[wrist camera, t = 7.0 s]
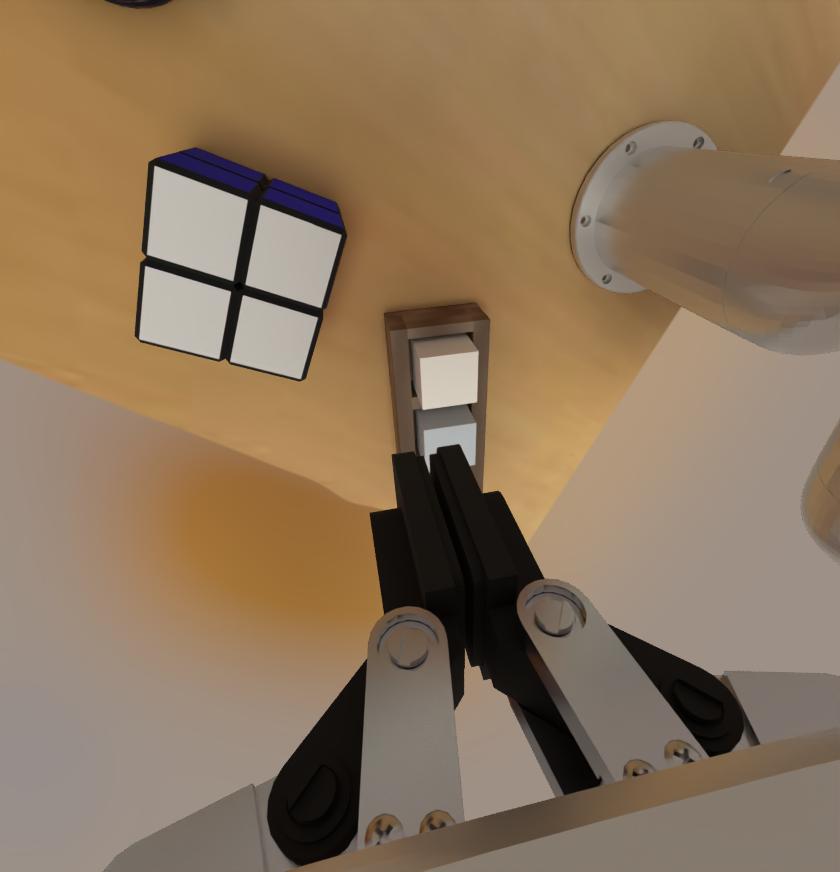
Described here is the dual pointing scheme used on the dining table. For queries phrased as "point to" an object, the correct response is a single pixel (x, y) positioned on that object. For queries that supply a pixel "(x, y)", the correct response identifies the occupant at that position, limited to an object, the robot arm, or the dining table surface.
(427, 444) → the light grey cube
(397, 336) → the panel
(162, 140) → the dining table surface
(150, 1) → the storage jar
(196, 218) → the puzzle cube
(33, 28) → the dining table surface
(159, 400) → the dining table surface
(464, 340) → the white cube
